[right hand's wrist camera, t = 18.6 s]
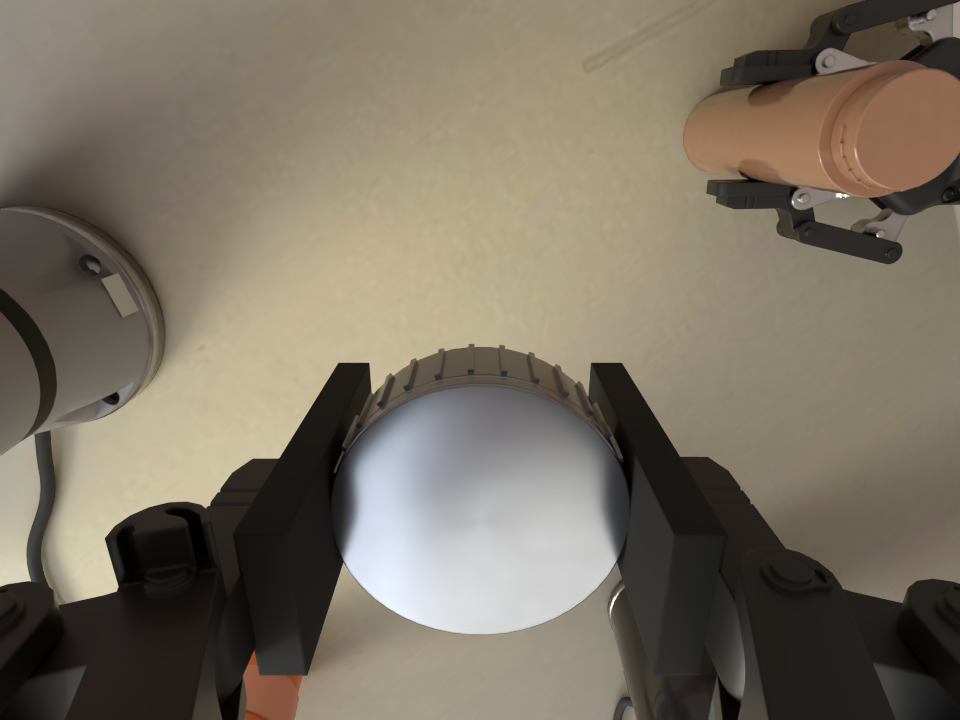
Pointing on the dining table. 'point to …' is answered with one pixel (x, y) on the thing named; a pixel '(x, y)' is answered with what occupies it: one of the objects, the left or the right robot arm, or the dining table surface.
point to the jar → (833, 130)
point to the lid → (480, 493)
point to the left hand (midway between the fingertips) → (720, 134)
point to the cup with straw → (270, 694)
